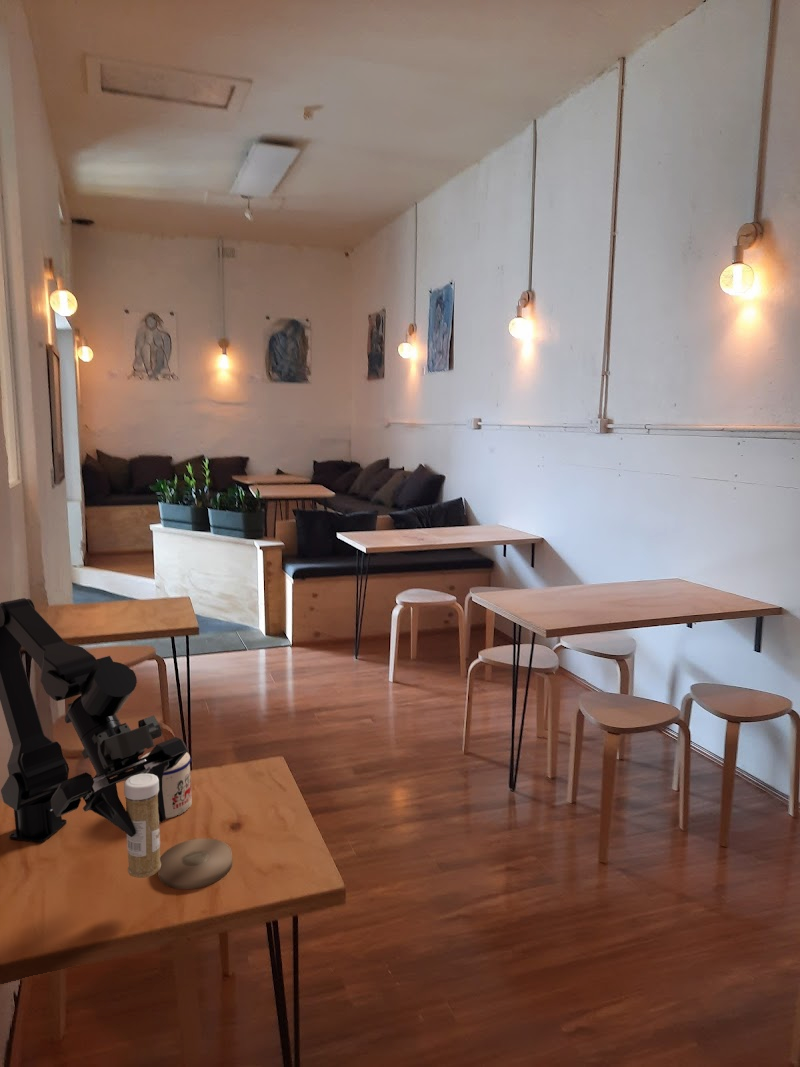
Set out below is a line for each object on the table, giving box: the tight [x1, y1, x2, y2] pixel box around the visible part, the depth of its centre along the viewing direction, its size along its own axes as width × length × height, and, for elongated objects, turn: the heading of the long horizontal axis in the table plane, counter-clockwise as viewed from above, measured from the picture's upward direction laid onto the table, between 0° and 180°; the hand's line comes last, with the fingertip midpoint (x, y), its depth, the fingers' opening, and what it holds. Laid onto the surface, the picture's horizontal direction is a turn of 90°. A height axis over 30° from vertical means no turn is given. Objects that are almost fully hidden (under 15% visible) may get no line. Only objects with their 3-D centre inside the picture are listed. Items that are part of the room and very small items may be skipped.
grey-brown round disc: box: [157, 838, 233, 890], centre depth 116 cm, size 11×11×2 cm
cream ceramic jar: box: [139, 751, 193, 819], centre depth 135 cm, size 12×9×12 cm
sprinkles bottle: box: [123, 773, 161, 879], centre depth 105 cm, size 5×5×14 cm
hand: (148, 828), depth 104 cm, fingers closed on sprinkles bottle, 4 cm apart
